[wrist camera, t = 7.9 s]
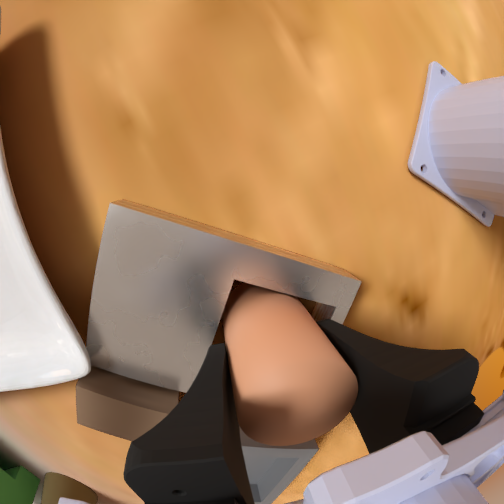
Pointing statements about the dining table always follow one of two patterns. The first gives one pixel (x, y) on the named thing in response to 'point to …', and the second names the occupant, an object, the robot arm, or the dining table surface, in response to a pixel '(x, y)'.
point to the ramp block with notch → (17, 486)
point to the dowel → (283, 368)
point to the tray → (273, 466)
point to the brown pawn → (65, 489)
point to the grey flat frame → (186, 291)
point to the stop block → (121, 404)
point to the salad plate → (31, 309)
